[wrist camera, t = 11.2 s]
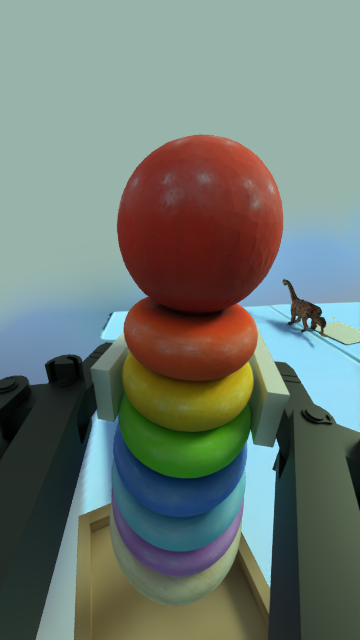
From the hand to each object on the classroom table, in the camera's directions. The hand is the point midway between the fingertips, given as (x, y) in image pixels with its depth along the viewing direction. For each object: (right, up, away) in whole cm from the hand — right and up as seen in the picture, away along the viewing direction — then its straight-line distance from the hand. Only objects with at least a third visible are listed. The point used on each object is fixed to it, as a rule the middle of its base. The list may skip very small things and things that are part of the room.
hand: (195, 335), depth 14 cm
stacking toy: (-1, -11, -1) cm, 11 cm away
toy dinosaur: (+43, -2, +63) cm, 76 cm away
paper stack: (+59, -2, +65) cm, 88 cm away
